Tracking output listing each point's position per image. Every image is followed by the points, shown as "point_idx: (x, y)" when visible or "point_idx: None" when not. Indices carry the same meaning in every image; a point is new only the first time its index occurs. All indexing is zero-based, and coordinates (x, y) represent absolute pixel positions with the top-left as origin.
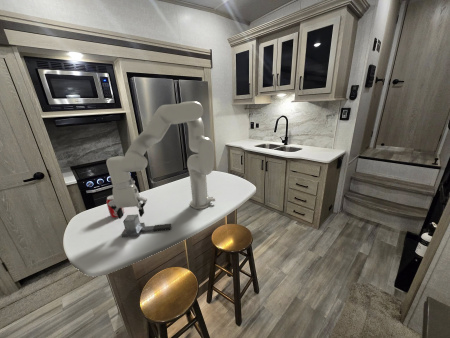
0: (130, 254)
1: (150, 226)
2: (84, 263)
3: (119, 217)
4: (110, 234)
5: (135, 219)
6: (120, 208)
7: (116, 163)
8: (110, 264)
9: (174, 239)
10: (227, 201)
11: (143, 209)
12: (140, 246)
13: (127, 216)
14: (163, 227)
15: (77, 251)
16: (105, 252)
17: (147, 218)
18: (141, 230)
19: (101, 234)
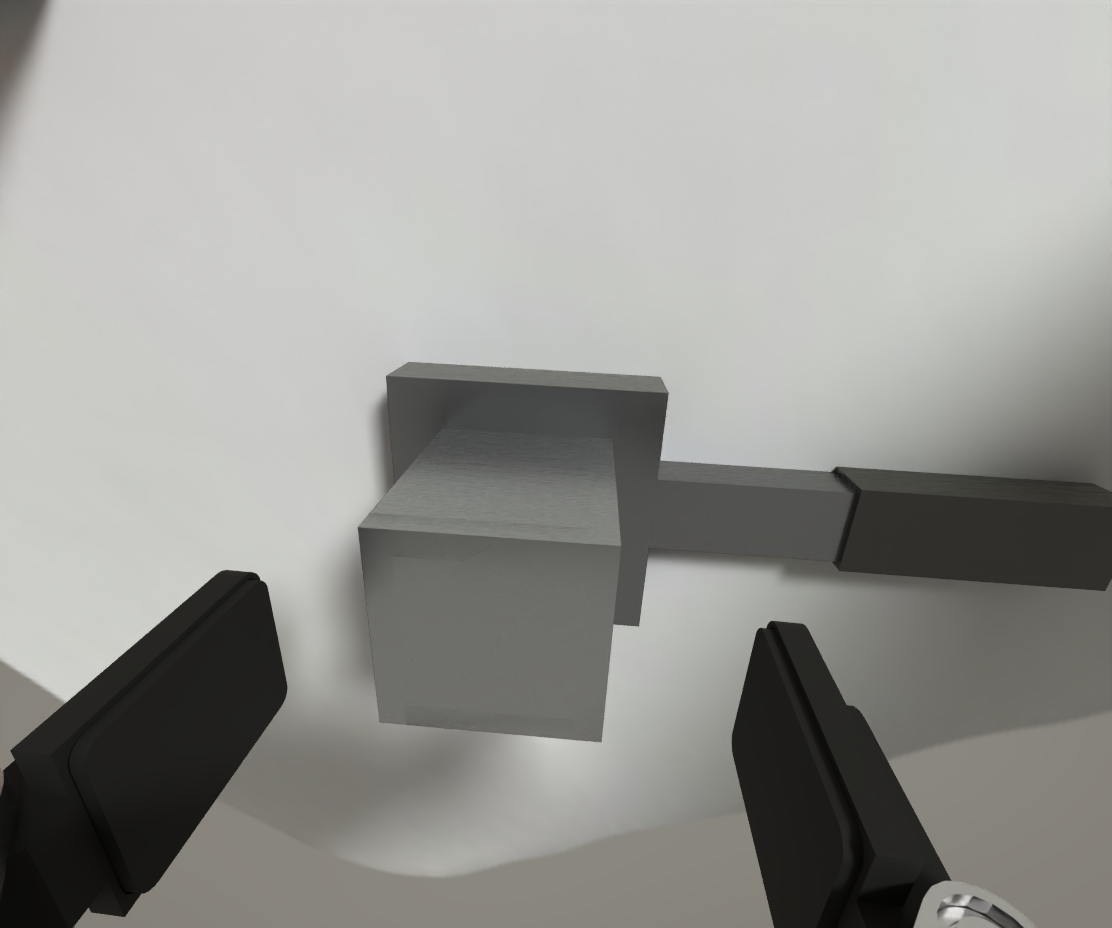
0: (615, 798)
1: (786, 501)
2: (263, 801)
3: (252, 730)
4: (230, 483)
5: (606, 682)
6: (47, 774)
7: None
8: (485, 848)
9: (1073, 719)
10: None
11: (904, 807)
12: (687, 734)
13: (382, 577)
14: (1002, 577)
15: (74, 673)
16: (363, 735)
17: (660, 135)
18: (652, 541)
19: (106, 460)
